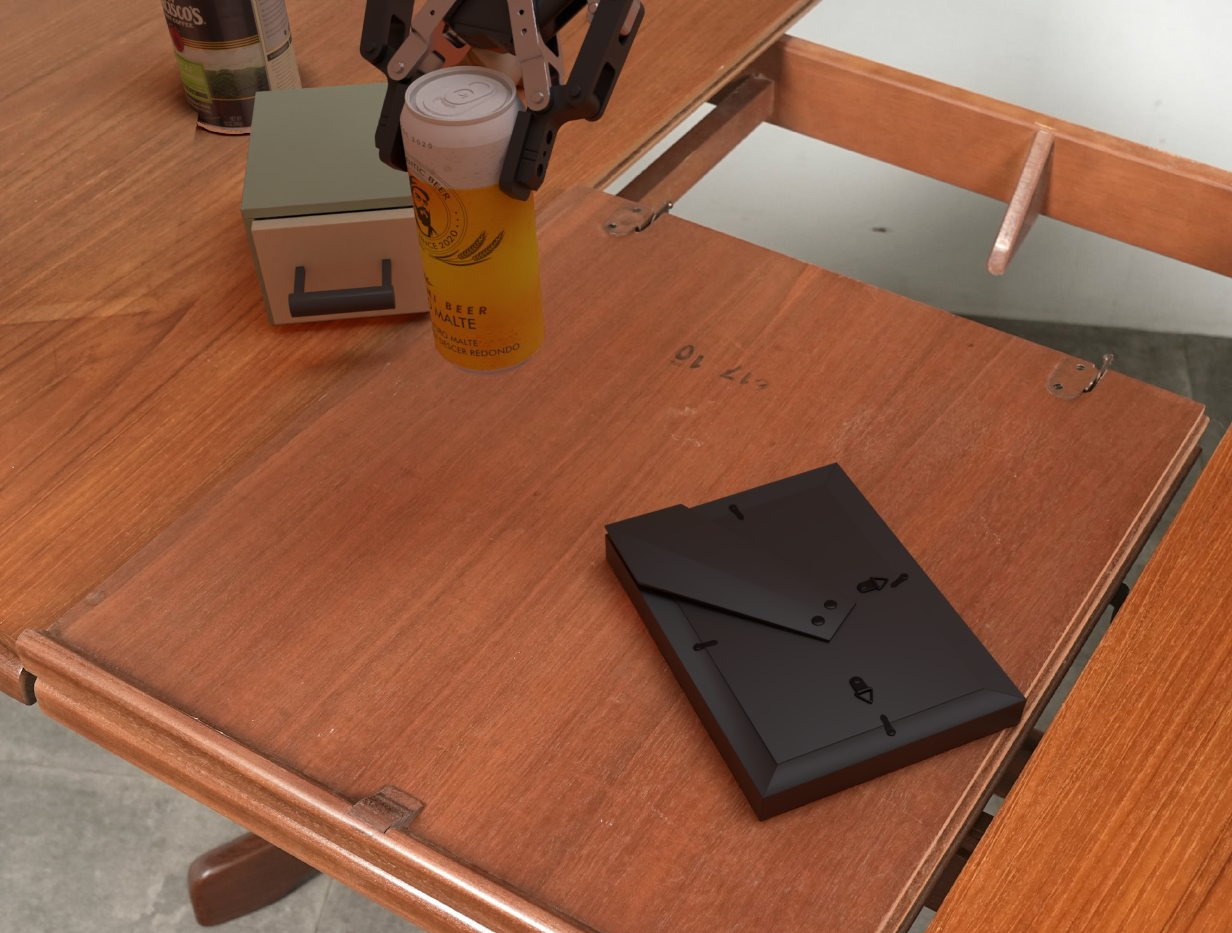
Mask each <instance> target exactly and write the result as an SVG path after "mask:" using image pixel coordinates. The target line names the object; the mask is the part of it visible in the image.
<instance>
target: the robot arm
mask: <svg viewBox="0 0 1232 933" xmlns="http://www.w3.org/2000/svg"><path fill="white" fill-rule="evenodd" d="M415 1H416V0H366V3H365V9H364V16H363V22H362V30H361V37H360V42H359V54H360V56H361V57H362V59H364V60H365V61H367V63H369V64H371V65H372V66H373V67H375V68H376V69H377V70H379V71H380V72H381V73H383V74H384V75H385V77H386V80H387V81H386V82H388V88H387V92H386V95H385V99H384V103H383V107H382V110H381V114H380V118H379V122H378V125H377V129H376V133H375V147H376V148H378V149H379V158H380V160H381V162H383V163H385V164H386V165H388V166H390V167H391V168H393V169H395V170H399V171H403V172H408V169H407V163H406V157H405V150H404V144H403V137H402V131H401V125H400V116H401V112H402V109H403V106H404V103H405V93H406V91H407V89H408V87H409V86H410V85H411V84H412V83H413V82H414V81H415V80H417V79H418V78H420V77H421V76H423V75H425V74H428V73H430V72H433V71H436V70H439V69H443V68H448V67H449V66H451V65H456V64H457V63H459V62H460V61H461V60H462V58H463V57H464V56H465V54H466V53H467V52H468V51H469V49H470V48H471V47H475V48H480V49H495V48H500V49H502V50H504V51H506V52H508V53H510V54H511V55H514V56H516V57H517V60H518V62H519V64H520V67H521V71H522V78H523V85H524V87H523V90H524V98H525V103H526V112H523V111H519V110H518V114H517V118H516V121H515V125H514V128H513V132H512V136H511V139H510V143H509V146H508V150H507V153H506V157H505V161H504V164H503V168H502V171H501V175H500V179H499V188H500V190H501V191H502V192H503V193H505V194H506V195H508V196H509V197H510V198H513V199H517V200H521V201H527V200H528V198H529V196H530V193H531V190H533V192H538V191H539V189H540V188H541V186H542V185H543V183H545V182H544V181H545V179H546V174H547V169H548V167H549V165H550V160H551V157H552V153H553V150H554V146H555V143H556V139H557V136H558V133H559V130H560V129H561V128H562V127H563V126H564V125H565V124H566V123H569V122H573V121H579V120H585V121H587V122H590V123H595V122H597V121H599V120H600V119H601V118H602V117H603V116H604V115H605V112H606V109H607V106H608V104H609V102H610V99H611V98H612V95H613V93H614V90H615V88H616V85H617V82H618V80H619V78H620V75H621V73H622V70H623V68H624V65H625V63H626V62H627V58H628V56H629V54H630V51H631V48H632V46H633V44H634V41H635V39H636V36H637V34H638V31H639V29H640V27H641V24H642V22H643V19H644V17H645V14H646V9H645V6H644V4H643V3H642V1H641V0H426V2H425V3H424V4H423V6H422V7H421V8H420V10H419V11H418V12H417V14H416V15H415V16H414V18H413V14H414V7H415ZM586 7H587V9H586V10H587V11H586V20H587V23H588V24H589V27H588V29H587V31H586V34H585V36H584V38H583V41H582V44H581V46H580V49H579V51H578V54H577V56H576V58H575V61H574V63H573V65H572V68H571V71H570V73H569V76H568V78H567V80H566V83H565V82H564V78H565V77H566V68H565V62H564V54H563V48H562V40H561V35H560V31H562V30H563V29H564V28H565V26H567V25H568V23H570V22H571V21H572V20H573V19H574V18H575V17H576V16H577V15H578V14H579V13H580V12H582V10H584V9H585V8H586ZM446 23H447V24H448V26H449V27H450V28H451V29H450V30H449V31H448V32H447V33H445V34H442V30H443V27H444V25H445V24H446Z"/></svg>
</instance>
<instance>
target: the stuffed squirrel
mask: <svg viewBox="0 0 1232 933" xmlns="http://www.w3.org/2000/svg"><path fill="white" fill-rule="evenodd" d="M450 29H451V28H450V27H449V26H448V24H447V23H446V24H445V25H444V27H443V30H442V34H445V33H447V32H448V31H449V30H450ZM455 66H480V67H486V68H491V69H494V70H497V71H500V72H502V73H504V74H506V75H507V76H509V77H510V78H511V79H512V80H513V82H514V84H515V86H516V87H517V86H518V87H521V88H524V85H523V78H522V71H521V67H520V64H519V62H518V60H517V57H516V56H514V55H511V54H510V53H508V52H506V51H504V50H502V49H500V48H495V49H480V48H475V47H471V48H470V49H469V51H468V52H467V53H466V54H465V56H464V57H463V58H462V60H461V61H460V62H459V63H457V64H456V65H451V66H449V67H455Z"/></svg>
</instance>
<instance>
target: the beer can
mask: <svg viewBox="0 0 1232 933" xmlns="http://www.w3.org/2000/svg"><path fill="white" fill-rule="evenodd" d="M526 109H527V105H525V102H524V101H523V99H522V98H521V95H520V94H519V92H518V91H517V86H515V84H514V82H513V80H512V79H511V78H510V77H509V76H507V75H506V74H504V73H502V72H500V71H497V70H494V69H491V68H486V67H480V66H455V67H448V68H443V69H439V70H436V71H433V72H430V73H428V74H425V75H423V76H421V77H420V78H418V79H417V80H415V81H414V82H413V83H412V84H411V85H410V86H409V87H408V89H407V91H406V93H405V103H404V106H403V109H402V112H401V116H400V125H401V131H402V137H403V144H404V150H405V157H406V163H407V169H408V176H409V182H410V188H411V195H412V201H413V207H414V214H415V220H416V227H417V233H418V239H419V246H420V252H421V258H422V265H423V271H424V277H425V284H426V290H427V297H428V303H429V309H430V312H429V315H430V320H431V321H430V322H431V327H432V328H431V329H432V334H433V340H434V346H435V350H436V351H437V353H438V354H439V355H440V357H442V358H443V359H444V360H445V361H447V362H448V363H450V364H451V366H453V367H454V368H455V369H456V370H458V371H460V372H462V373H465V374H466V375H470V376H476V377H498V376H503V375H507V374H511V373H513V372H516V371H517V370H519V369H521V368H523V367H524V366H526V365H527V364H529V362H530V361H531V360H532V358H533V357H534V356H535V354H536V353H537V352H538V351H539V349H540V348H541V347H542V345H543V343H544V340H545V336H546V333H545V332H546V331H545V330H546V329H545V319H544V307H543V296H542V294H543V293H542V284H541V282H542V281H541V270H540V269H541V268H540V260H539V258H540V257H539V246H538V234H537V222H536V210H535V199H534V191H533V190H531V193H530V196H529V198H528V200H527V201H521V200H517V199H513V198H510V197H509V196H508V195H506V194H505V193H503V192H502V191H501V190H500V188H499V179H500V175H501V171H502V168H503V164H504V161H505V157H506V153H507V150H508V146H509V143H510V139H511V136H512V132H513V128H514V125H515V121H516V118H517V114H518V110H519V111H523V112H526Z"/></svg>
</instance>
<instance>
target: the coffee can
mask: <svg viewBox="0 0 1232 933" xmlns="http://www.w3.org/2000/svg"><path fill="white" fill-rule="evenodd" d="M160 3H161V6H162V10H163V14H164V18H165V22H166V25H167V30H168V33H169V36H170V40H171V44H172V48H173V51H174V56H175V59H176V63H177V66H178V70H179V71H178V72H179V74H180V78H181V81H182V85H183V86H182V87H183V89H184V93H185V99H186V102H187V104H188V105H189V107H190V108H191V109H192V110H193V111H194V112H196V113H198V115H197V120H196V122H197V121H198V122H200V123H202V124H204V125H207V126H210V127H213V128H217V129H221V130H231V132H232V131H233V130H234V131H235V132H237V131H240V132H242V131H244V130H246V131H247V130H251V125H252V117H253V109H254V102H255V94H256V92H262V91H275V90H289V89H302V88H303V86H302V82H301V76H300V72H299V66H298V60H297V55H296V51H295V46H294V41H293V35H292V30H291V25H290V20H289V16H288V11H287V5H286V0H160Z"/></svg>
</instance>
